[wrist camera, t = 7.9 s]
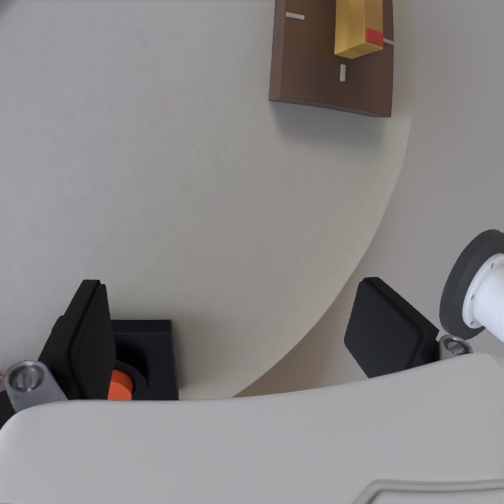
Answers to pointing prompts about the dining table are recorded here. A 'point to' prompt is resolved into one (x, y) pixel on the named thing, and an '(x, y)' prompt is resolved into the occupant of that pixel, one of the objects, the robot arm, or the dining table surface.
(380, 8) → the lock knob
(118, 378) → the button
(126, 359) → the button block
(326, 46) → the panel
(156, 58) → the dining table surface
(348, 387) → the robot arm
